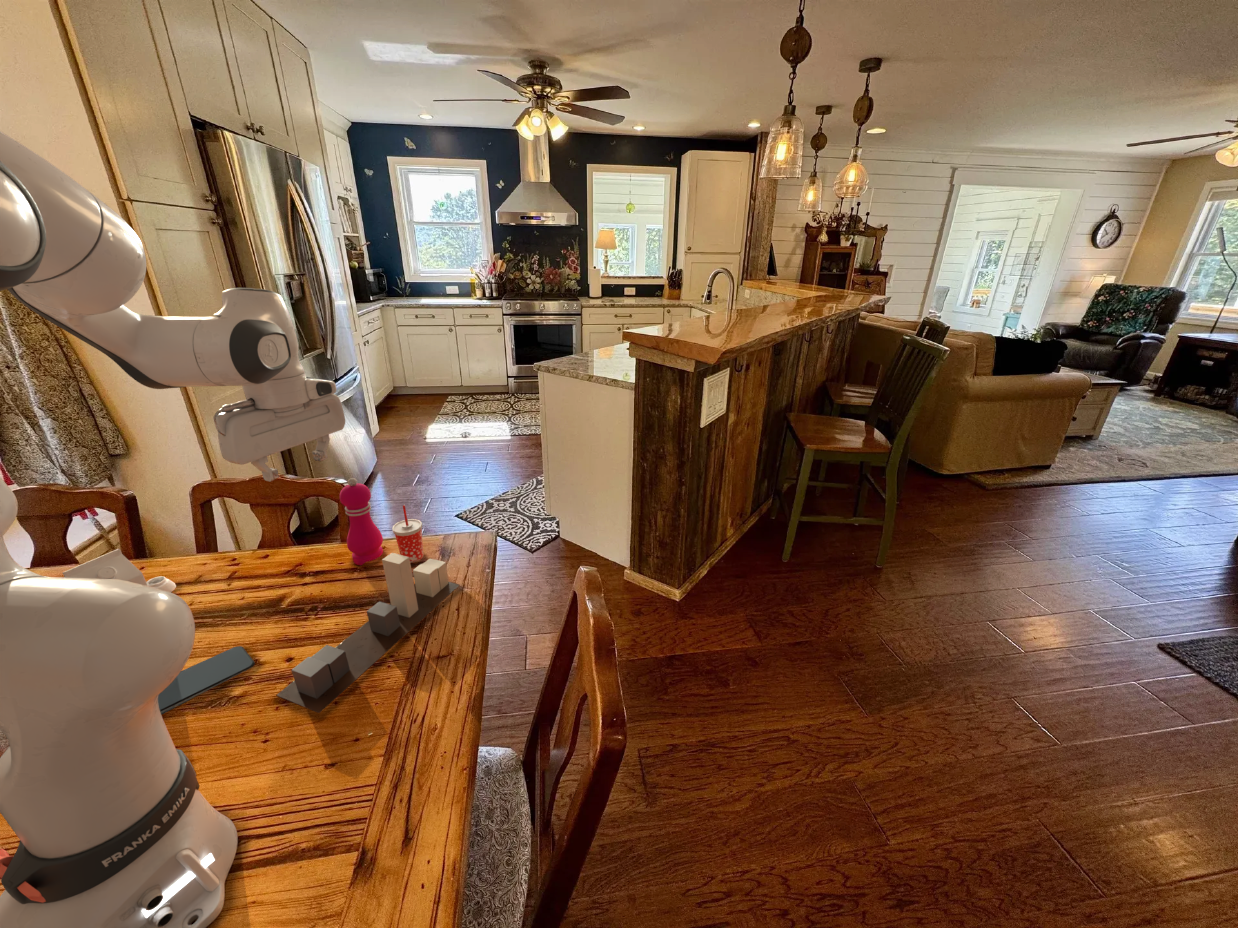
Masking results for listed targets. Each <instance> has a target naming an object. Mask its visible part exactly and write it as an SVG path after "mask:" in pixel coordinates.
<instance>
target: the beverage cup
mask: <svg viewBox="0 0 1238 928" xmlns="http://www.w3.org/2000/svg"><path fill="white" fill-rule="evenodd" d="M406 509H407V508H406V505H405V504H403V505H402V511H403V514H404V515H403V517H404V519H403V520H400V521H397V522H396V523H395V524H393V525H392V527H391V530H392V533H393V535H394V536H395V539H396V543H397V547H398V551H399V555H403V556H407V557H409V559H410V563H415V562H418V561H420V560H422V559H423V558H424V555H425V554H424V553H425V552H424V542H423V531H422V529H423V523H422V521H421V520H419V519H416V518H408V514H407V510H406Z"/></svg>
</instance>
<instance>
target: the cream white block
mask: <svg viewBox="0 0 1238 928" xmlns="http://www.w3.org/2000/svg"><path fill="white" fill-rule="evenodd" d="M447 568H448V567H447V562H446V561H443V560H438V559H434V558H428V559H427V560H425V562H423V563H420V564H419V565H418V566H416V567H415V568H414V569H412V575H413V581H414V584H415V586H416V591H417V593H419V594H423V595H427V596H430V597H434V596H435V595H436V594H437V593H438V592H439V591H440V590H442V589H443V588H444V587H445V586H446V585H447V584H448V583H449V582H450V581H449V575H448V569H447Z"/></svg>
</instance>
